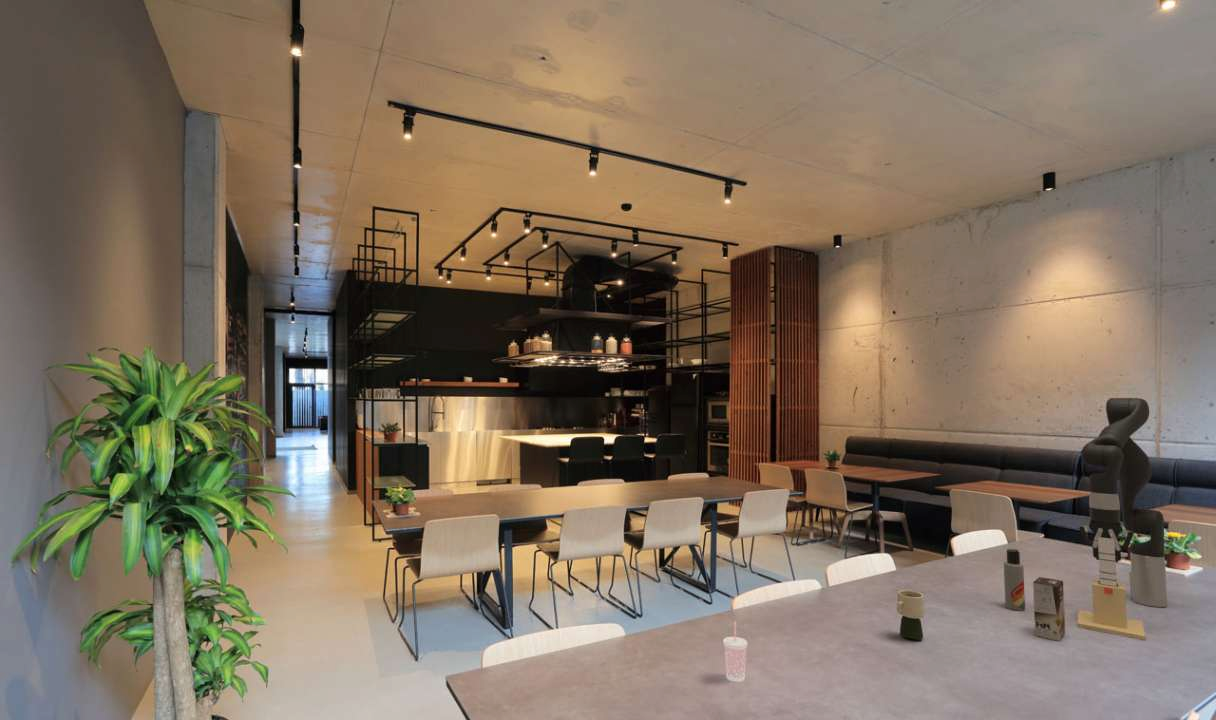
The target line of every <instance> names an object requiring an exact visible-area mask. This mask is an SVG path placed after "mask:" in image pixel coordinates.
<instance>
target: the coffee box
mask: <svg viewBox="0 0 1216 720" xmlns="http://www.w3.org/2000/svg"><path fill="white" fill-rule="evenodd" d="M1032 583H1033V585H1032V586H1033V588H1032V589H1033V612H1034V614H1033V615H1034V617H1033V618H1034V635H1035V636H1037V637H1040V638H1046V639H1049V640H1053V641H1057V642H1060V641H1061V640H1062V638H1063V637H1064V636H1065V635H1066V620H1065V600H1064V598H1065V596H1064V595H1065V593H1064V592H1065V591H1064V580H1059V579H1054V578H1049V577H1042V576H1039V577H1038V578H1037V579H1035V580H1034V581H1032Z"/></svg>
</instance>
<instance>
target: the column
mask: <svg viewBox="0 0 1216 720" xmlns="http://www.w3.org/2000/svg"><path fill="white" fill-rule="evenodd" d="M1098 550H1099V551H1098V553H1099V560H1098V563H1099V567H1098V570H1099V571H1098V572H1099V580H1100V585H1107V586H1113V587H1117V583H1118V582H1117V580H1118V579H1117V570H1116V569H1117V568H1116V563H1117V562H1116V560H1115V545H1114V539H1112V538H1106V537H1098Z"/></svg>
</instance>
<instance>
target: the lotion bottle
mask: <svg viewBox="0 0 1216 720" xmlns="http://www.w3.org/2000/svg"><path fill="white" fill-rule="evenodd" d="M1020 554H1021V552H1020V551H1019V549H1016V548H1013V549H1012V548H1008V549H1006V561H1004V562H1003V577H1004V581H1003V582H1004V583H1003V585H1004V598H1005V599H1004V605H1005V608H1007V609H1009V610H1013V611H1017V612H1018V611H1019V612H1022V611H1025V610H1026V599H1025V597H1026V596H1025V593H1026V592H1025V573H1024V570H1025V569H1024V567H1025V566H1024V565H1023V564H1022V563H1021V555H1020Z"/></svg>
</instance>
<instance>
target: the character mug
mask: <svg viewBox="0 0 1216 720" xmlns="http://www.w3.org/2000/svg"><path fill="white" fill-rule="evenodd" d="M924 597H925V596H924V594H923V593H921V592H918V591H914V590H908V589H907V590H906V589H901V590H897V597H896V598H897V599H896V600H897V601H896V611H897V613H899V615H900V616H901V619H900V628H899V635H900V636H901V637H905V638H907V639H911V640H923V639H924V633H923V626H922V621H921V619H922V618H924V616H925V600H924Z"/></svg>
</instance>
